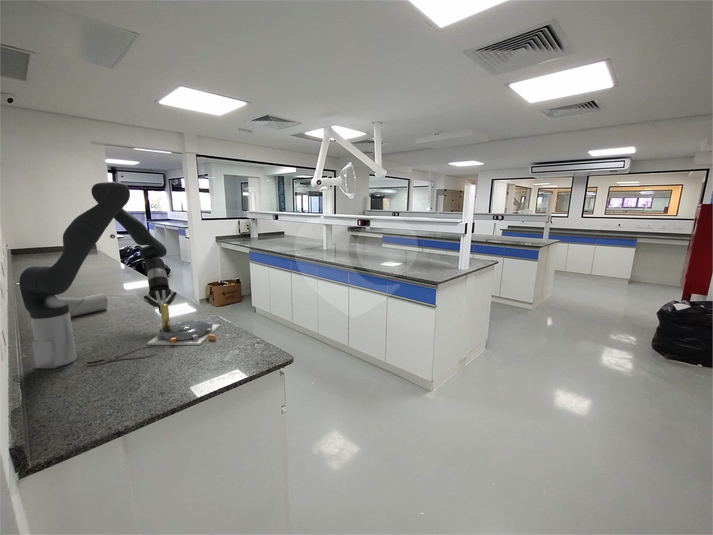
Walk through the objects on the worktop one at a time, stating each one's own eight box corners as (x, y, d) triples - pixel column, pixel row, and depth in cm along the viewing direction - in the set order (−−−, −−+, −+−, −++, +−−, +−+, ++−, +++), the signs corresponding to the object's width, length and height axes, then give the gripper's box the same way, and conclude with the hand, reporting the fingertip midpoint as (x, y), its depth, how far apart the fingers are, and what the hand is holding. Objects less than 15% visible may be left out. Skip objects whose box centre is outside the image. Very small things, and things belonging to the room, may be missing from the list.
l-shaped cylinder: (57, 320, 138) (110, 308, 155) (52, 297, 137) (105, 288, 154) (45, 320, 147) (96, 310, 164) (40, 299, 146) (92, 290, 163)
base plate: (210, 345, 120) (209, 340, 120) (147, 344, 119) (146, 339, 119) (229, 326, 140) (228, 322, 139) (175, 325, 139) (174, 321, 138)
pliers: (161, 352, 112) (91, 372, 97) (161, 354, 113) (91, 375, 98) (152, 344, 119) (85, 362, 103) (152, 346, 119) (85, 364, 104)
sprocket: (200, 343, 119) (198, 312, 117) (145, 342, 118) (141, 311, 116) (221, 323, 140) (219, 297, 138) (174, 322, 139) (172, 296, 137)
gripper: (139, 277, 132) (144, 312, 125) (175, 274, 140) (181, 306, 133) (140, 286, 137) (145, 320, 130) (174, 283, 145) (180, 314, 138)
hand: (163, 313), depth 131 cm, fingers closed
